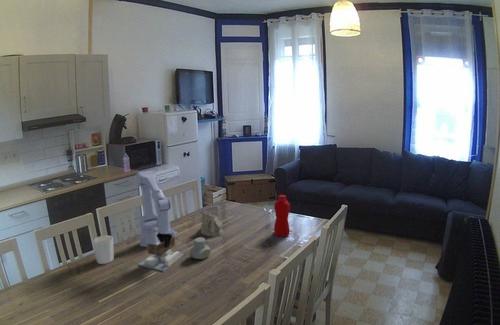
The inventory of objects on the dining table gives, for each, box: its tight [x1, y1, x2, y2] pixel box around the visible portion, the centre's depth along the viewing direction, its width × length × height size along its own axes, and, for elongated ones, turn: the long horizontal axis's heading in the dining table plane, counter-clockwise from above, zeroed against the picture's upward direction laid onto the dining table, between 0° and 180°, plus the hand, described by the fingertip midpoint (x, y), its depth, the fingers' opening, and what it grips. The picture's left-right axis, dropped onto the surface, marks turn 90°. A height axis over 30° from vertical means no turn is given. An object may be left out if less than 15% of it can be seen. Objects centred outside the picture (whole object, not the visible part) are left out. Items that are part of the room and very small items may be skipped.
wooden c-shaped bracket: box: [147, 236, 176, 256], centre depth 177 cm, size 8×12×5 cm, turn 154°
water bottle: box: [273, 194, 293, 237], centre depth 207 cm, size 9×11×25 cm
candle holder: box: [92, 234, 115, 265], centre depth 178 cm, size 10×10×12 cm
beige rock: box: [200, 210, 225, 238], centre depth 214 cm, size 16×16×15 cm
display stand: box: [137, 248, 185, 273], centre depth 178 cm, size 16×18×4 cm
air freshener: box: [189, 236, 211, 260], centre depth 181 cm, size 11×8×10 cm
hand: (165, 246), depth 176 cm, fingers closed on wooden c-shaped bracket
